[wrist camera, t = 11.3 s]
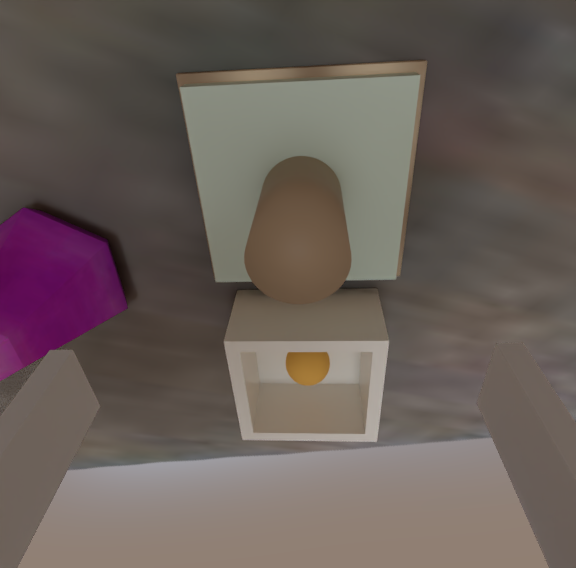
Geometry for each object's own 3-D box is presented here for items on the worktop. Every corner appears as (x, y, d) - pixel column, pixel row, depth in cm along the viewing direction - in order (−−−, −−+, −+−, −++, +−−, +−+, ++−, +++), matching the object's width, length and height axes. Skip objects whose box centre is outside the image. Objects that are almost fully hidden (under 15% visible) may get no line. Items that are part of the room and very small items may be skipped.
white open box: (251, 384, 38) (242, 439, 33) (237, 290, 32) (223, 341, 27) (368, 384, 37) (376, 441, 32) (377, 288, 31) (389, 340, 26)
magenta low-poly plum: (161, 264, 31) (61, 434, 19) (97, 339, 36) (-16, 513, 24) (20, 167, 27) (-224, 299, 15) (-30, 266, 32) (-245, 427, 20)
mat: (216, 274, 31) (214, 278, 31) (178, 73, 23) (175, 74, 23) (398, 271, 30) (400, 275, 30) (424, 59, 22) (427, 61, 22)
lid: (219, 273, 30) (187, 361, 23) (185, 83, 23) (122, 120, 15) (393, 270, 29) (420, 361, 22) (415, 72, 22) (469, 105, 15)
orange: (287, 362, 35) (285, 395, 32) (285, 331, 33) (282, 363, 30) (329, 362, 35) (330, 395, 32) (329, 331, 33) (330, 363, 30)
